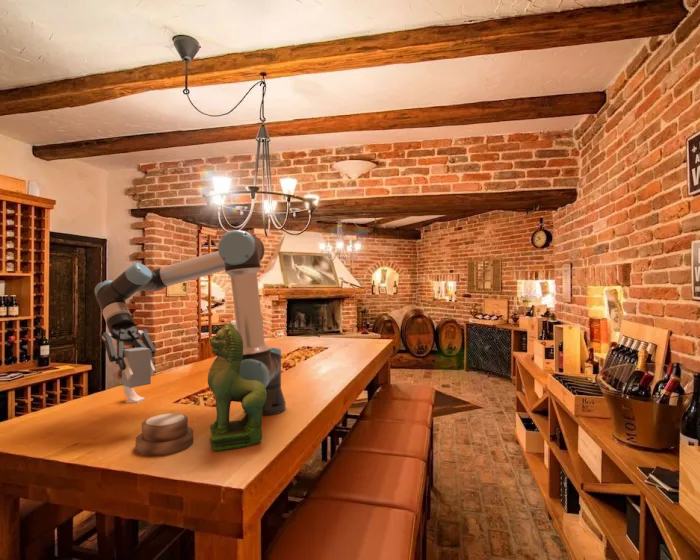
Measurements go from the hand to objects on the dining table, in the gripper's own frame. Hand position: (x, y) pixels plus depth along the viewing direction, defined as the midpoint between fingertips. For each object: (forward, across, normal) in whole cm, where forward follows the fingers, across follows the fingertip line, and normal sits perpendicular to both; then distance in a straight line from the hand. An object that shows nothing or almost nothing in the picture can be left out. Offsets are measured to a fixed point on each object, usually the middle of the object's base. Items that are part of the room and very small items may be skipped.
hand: (141, 374), depth 121 cm
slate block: (0, 0, -5) cm, 5 cm away
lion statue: (+32, -15, +6) cm, 36 cm away
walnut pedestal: (+22, -1, -4) cm, 23 cm away
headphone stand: (-15, -15, -41) cm, 46 cm away
